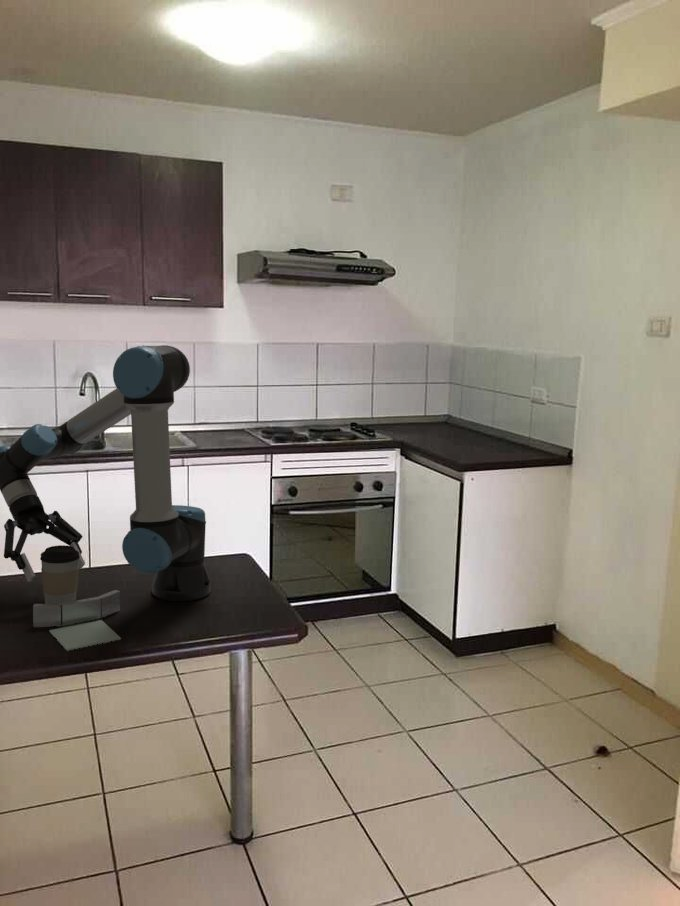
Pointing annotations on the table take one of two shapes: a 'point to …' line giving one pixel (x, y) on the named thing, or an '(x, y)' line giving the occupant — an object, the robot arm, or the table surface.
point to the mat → (84, 635)
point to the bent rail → (76, 610)
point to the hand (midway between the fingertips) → (57, 572)
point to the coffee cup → (59, 573)
